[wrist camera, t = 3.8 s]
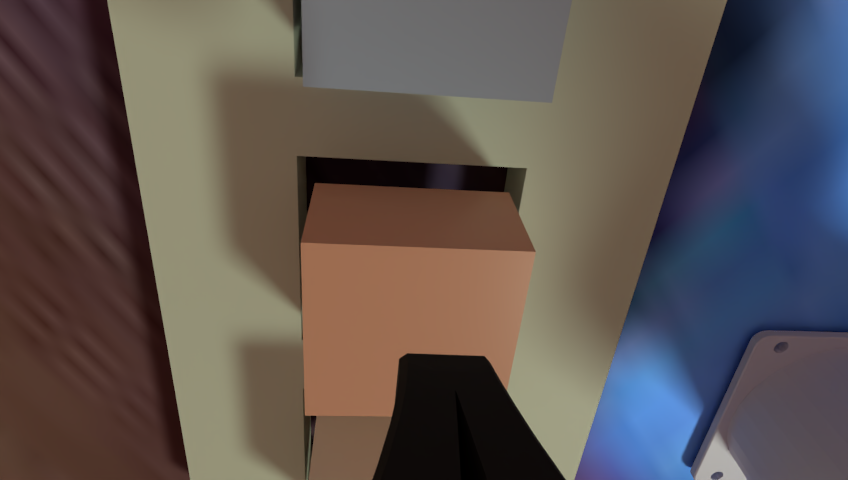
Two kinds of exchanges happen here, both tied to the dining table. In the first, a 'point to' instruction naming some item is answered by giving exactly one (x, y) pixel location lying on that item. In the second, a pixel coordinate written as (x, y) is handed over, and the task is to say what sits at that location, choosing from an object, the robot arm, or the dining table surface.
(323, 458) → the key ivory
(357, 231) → the key terracotta
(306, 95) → the panel
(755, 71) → the dining table surface
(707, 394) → the dining table surface
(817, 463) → the robot arm
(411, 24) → the key slate
